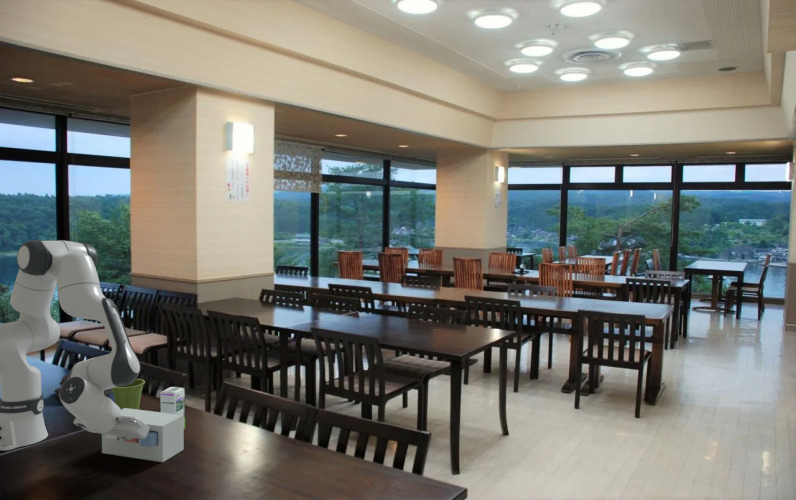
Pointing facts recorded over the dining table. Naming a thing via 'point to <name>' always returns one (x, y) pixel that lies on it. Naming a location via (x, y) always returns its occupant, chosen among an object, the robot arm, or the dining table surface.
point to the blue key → (150, 439)
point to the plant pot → (129, 395)
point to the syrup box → (173, 401)
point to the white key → (111, 436)
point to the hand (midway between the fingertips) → (128, 437)
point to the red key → (132, 440)
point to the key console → (163, 423)
